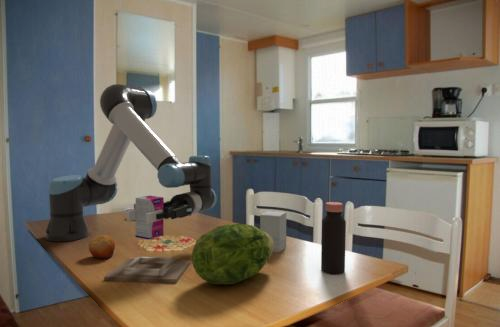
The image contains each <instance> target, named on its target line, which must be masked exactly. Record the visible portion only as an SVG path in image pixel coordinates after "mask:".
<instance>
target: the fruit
mask: <svg viewBox="0 0 500 327" xmlns="http://www.w3.org/2000/svg"><path fill="white" fill-rule="evenodd" d="M115 243H116V242H115V240H114V238H113V236H111V235H109V234H104V235H103V234H101V235H98V236H96V237H94V238H93V239H92V240H90V242H89V243H88V250H89V253H90V254H91V256H92V257H93V258H95V259H109V258H110V257H113V255H114V253H115V248H116V244H115Z"/></svg>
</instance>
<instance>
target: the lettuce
mask: <svg viewBox="0 0 500 327" xmlns="http://www.w3.org/2000/svg"><path fill="white" fill-rule="evenodd" d="M273 249H274V242H273V239H272V238H271V237H270V235H269V234H267V233H266V232H264V231H262V230H260V227H259V228H258V227H257V226H254V225H251V224H244V223H231V224H230V223H229V224H222V225H220V226H217V227H215V228H213V229H211V230H209V231H207V232H206V233H204V234H202V235H201V236H200V237H199V238H198V239H197V240H196V242H195V244H194V246H193V248H192V252H191V261H192V265H193V269H194V270H195V273H196V274H197V275H198V277H199V278H200V279H202V280H203V281H205V282H206V283H210V284H212V285H235V284H237V283H240V282H243V281H244V280H247V279H248V278H251V277H253V276H256V275H257V274H258V273H259V272H260V271H261V270H262V269H263V268H264V266H265V265H266V264H267V262H268V261H269V259H270V258H271V256H272V254H273Z"/></svg>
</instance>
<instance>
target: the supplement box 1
mask: <svg viewBox="0 0 500 327" xmlns="http://www.w3.org/2000/svg"><path fill="white" fill-rule="evenodd" d="M164 200H165V199H164V197H163V196H154V195H145V196H138V197H135V203H136V220H135V238H138V239H144V240H153V239H156V238H159V237H160V238H161V237H163V236H164V218H163V219H162V220H159V221H156V222H152V223H149V224H147V223H146V213H150V212H154V211H158V210H163V212H164V203H165V202H164Z"/></svg>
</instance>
